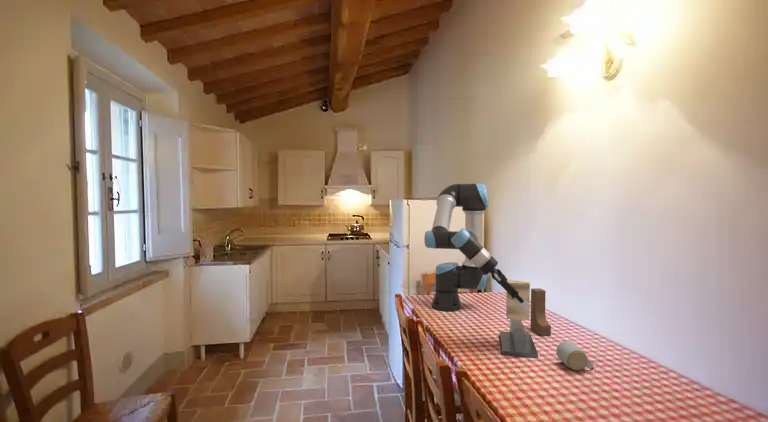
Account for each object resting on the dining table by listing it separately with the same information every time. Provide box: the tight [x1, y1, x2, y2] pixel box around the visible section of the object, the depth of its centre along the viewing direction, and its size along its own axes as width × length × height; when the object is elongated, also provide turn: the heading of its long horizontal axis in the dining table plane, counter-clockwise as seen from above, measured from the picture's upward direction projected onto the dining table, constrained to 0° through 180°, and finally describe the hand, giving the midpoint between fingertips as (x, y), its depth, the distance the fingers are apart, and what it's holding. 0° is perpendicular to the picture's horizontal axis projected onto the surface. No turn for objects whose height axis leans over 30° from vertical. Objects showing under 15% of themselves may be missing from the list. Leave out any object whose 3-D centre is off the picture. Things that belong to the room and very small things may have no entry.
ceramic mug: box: [556, 340, 595, 372], centre depth 133 cm, size 11×8×8 cm
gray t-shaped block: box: [499, 319, 539, 359], centre depth 152 cm, size 22×12×8 cm, turn 166°
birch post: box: [505, 279, 531, 321], centre depth 152 cm, size 5×8×14 cm, turn 76°
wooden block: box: [530, 287, 552, 337], centre depth 167 cm, size 9×4×18 cm, turn 7°
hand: (527, 306), depth 151 cm, fingers closed on birch post, 5 cm apart
